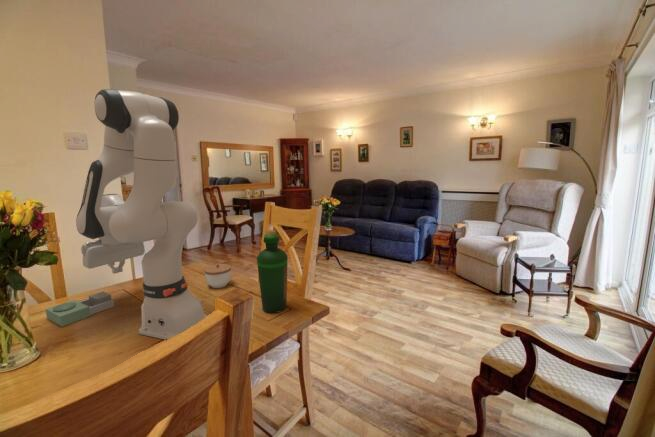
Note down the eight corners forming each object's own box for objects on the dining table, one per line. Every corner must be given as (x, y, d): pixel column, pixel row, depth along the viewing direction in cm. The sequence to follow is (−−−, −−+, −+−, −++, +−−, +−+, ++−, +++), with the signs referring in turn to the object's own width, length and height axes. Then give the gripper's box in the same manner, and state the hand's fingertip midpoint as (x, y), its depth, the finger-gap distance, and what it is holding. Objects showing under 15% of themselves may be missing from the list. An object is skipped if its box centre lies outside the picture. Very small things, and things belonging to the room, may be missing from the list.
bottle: (295, 305, 113) (293, 229, 108) (275, 318, 104) (271, 236, 99) (273, 298, 119) (270, 226, 113) (252, 310, 110) (248, 232, 105)
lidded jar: (216, 279, 139) (215, 259, 137) (237, 282, 136) (236, 261, 134) (199, 288, 129) (198, 267, 127) (221, 291, 126) (220, 269, 124)
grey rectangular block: (112, 306, 114) (110, 294, 114) (98, 311, 111) (96, 299, 110) (104, 302, 117) (102, 291, 117) (90, 307, 114) (88, 295, 113)
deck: (115, 306, 114) (114, 296, 113) (62, 326, 100) (59, 314, 99) (100, 300, 119) (98, 290, 118) (47, 318, 105) (45, 307, 105)
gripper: (85, 245, 106) (90, 283, 109) (145, 232, 123) (148, 266, 126) (76, 242, 109) (81, 279, 112) (136, 230, 126) (139, 263, 129)
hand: (117, 272), depth 119 cm, fingers closed
